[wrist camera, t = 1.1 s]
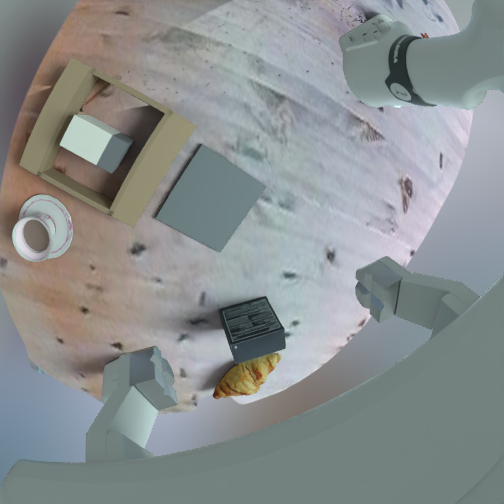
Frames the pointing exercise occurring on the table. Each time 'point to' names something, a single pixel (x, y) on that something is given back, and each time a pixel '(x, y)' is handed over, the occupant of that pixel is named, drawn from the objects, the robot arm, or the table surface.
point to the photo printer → (109, 379)
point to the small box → (252, 329)
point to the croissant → (246, 376)
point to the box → (96, 142)
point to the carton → (144, 168)
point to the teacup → (42, 229)
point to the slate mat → (210, 199)
